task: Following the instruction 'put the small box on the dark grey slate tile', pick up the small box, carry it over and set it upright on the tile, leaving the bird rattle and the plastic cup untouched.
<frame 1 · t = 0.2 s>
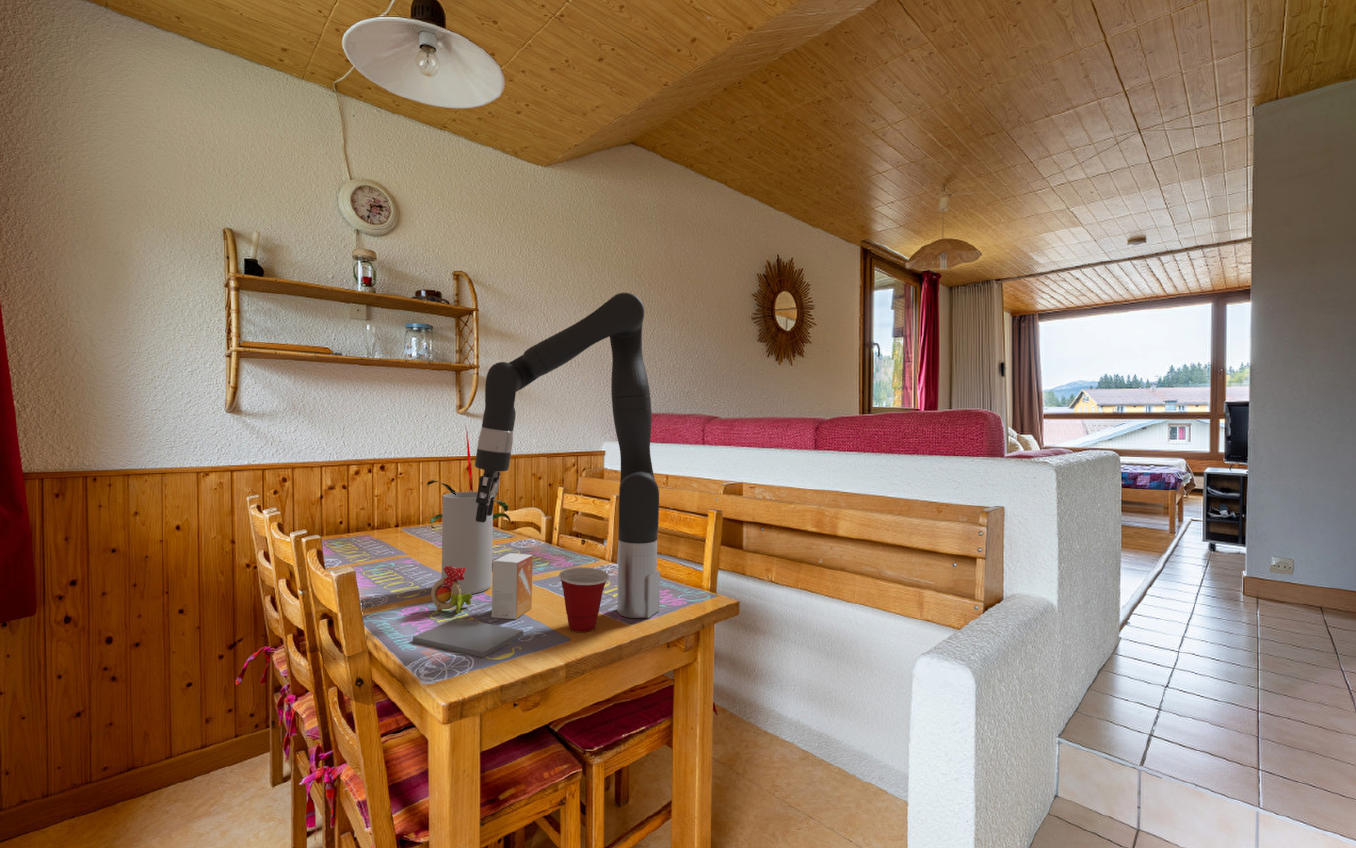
hand: (483, 518, 128), 22 cm above the table, tool pointing down, fingers open, 8 cm apart
bird rattle: (449, 611, 131), on the table
cylinder vase: (466, 589, 148), on the table
slate tile: (469, 638, 114), on the table
plastic cup: (583, 628, 121), on the table
small box: (512, 614, 130), on the table
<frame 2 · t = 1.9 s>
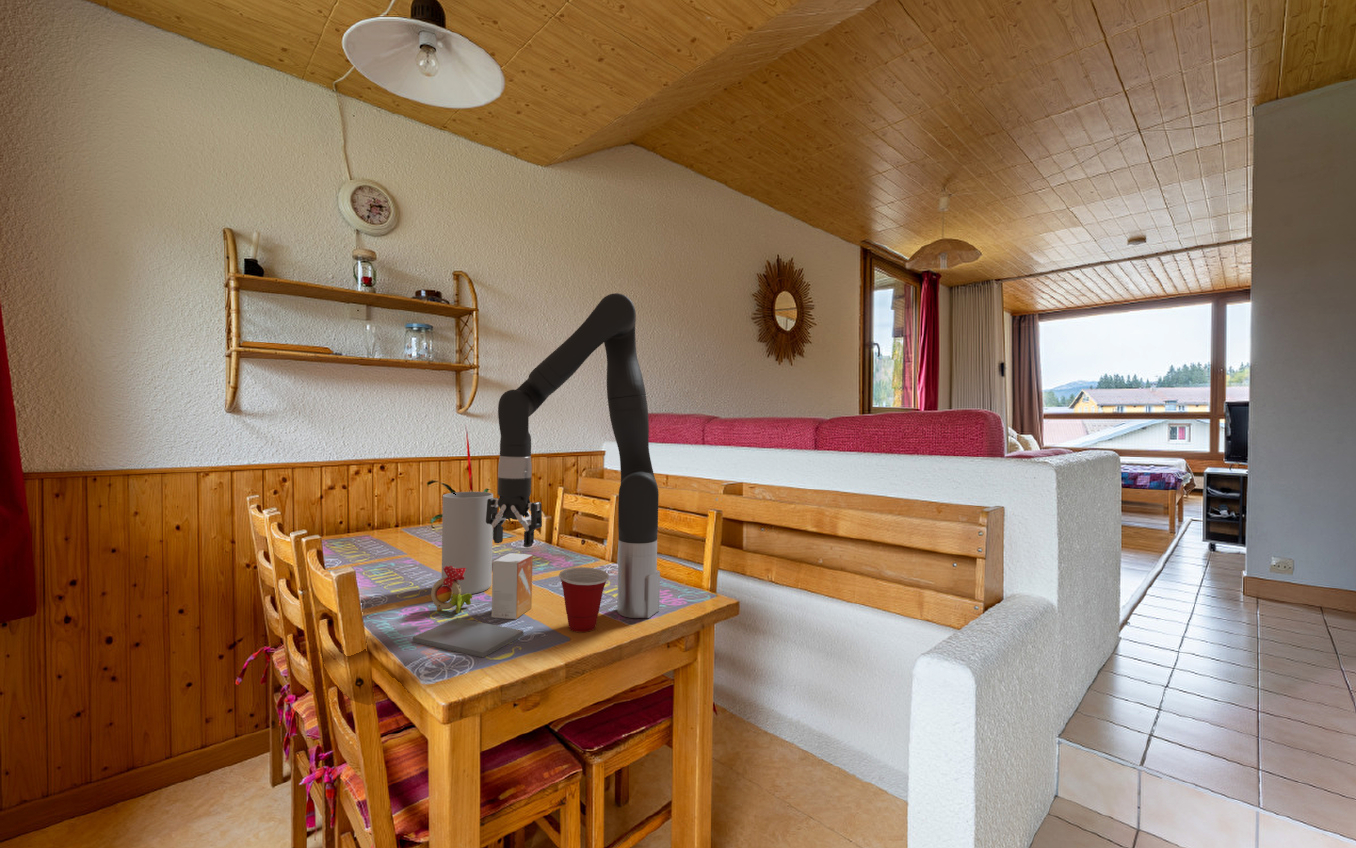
hand: (512, 544, 130), 16 cm above the table, tool pointing down, fingers open, 8 cm apart
nothing on the table moved.
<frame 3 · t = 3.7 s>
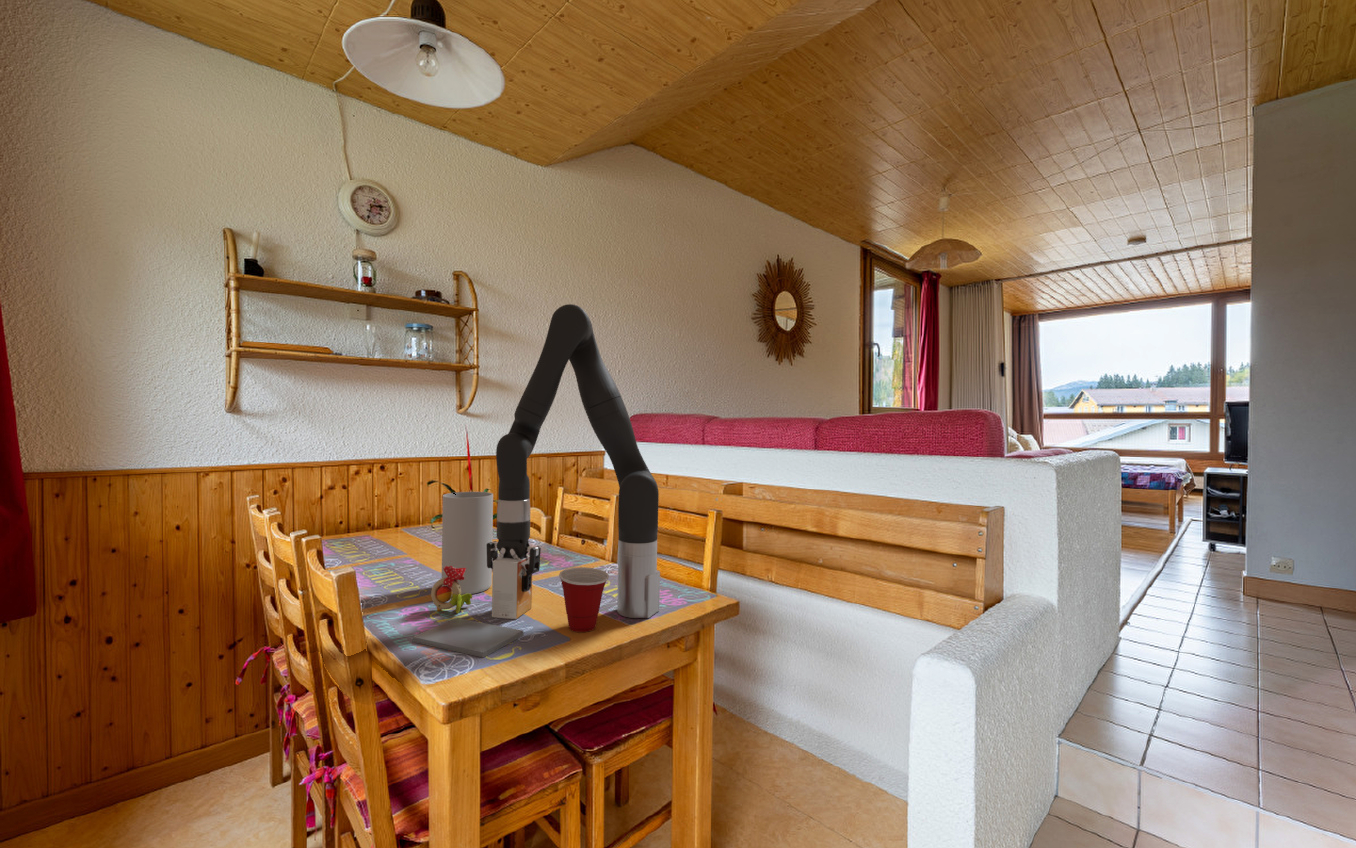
hand: (512, 588, 130), 6 cm above the table, tool pointing down, fingers closed on small box, 7 cm apart
small box: (512, 613, 130), on the table, touching gripper
everything else where it was.
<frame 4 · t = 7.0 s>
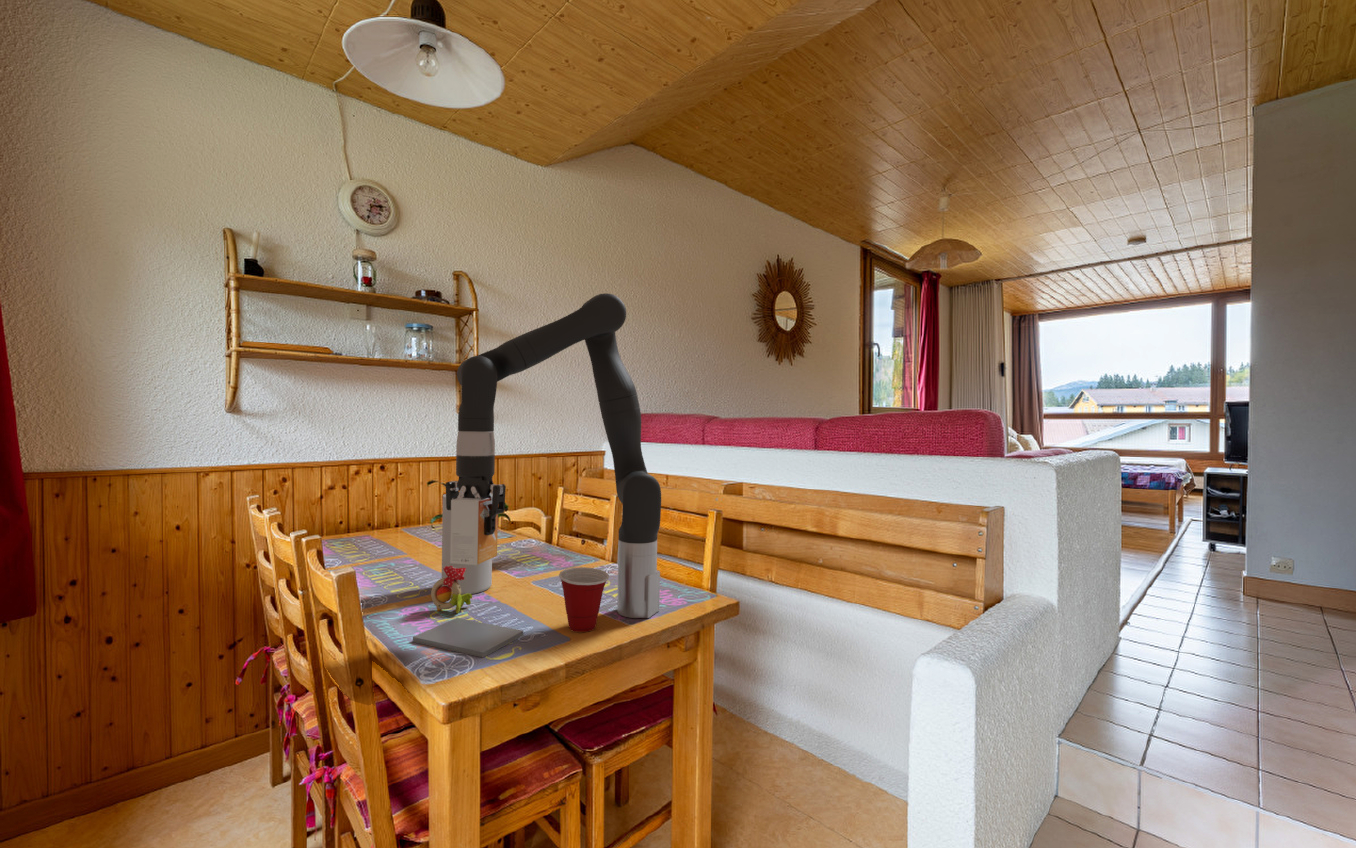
hand: (474, 532, 115), 22 cm above the table, tool pointing down, fingers closed on small box, 7 cm apart
small box: (474, 561, 115), point 16 cm above the table, touching gripper
everything else where it was.
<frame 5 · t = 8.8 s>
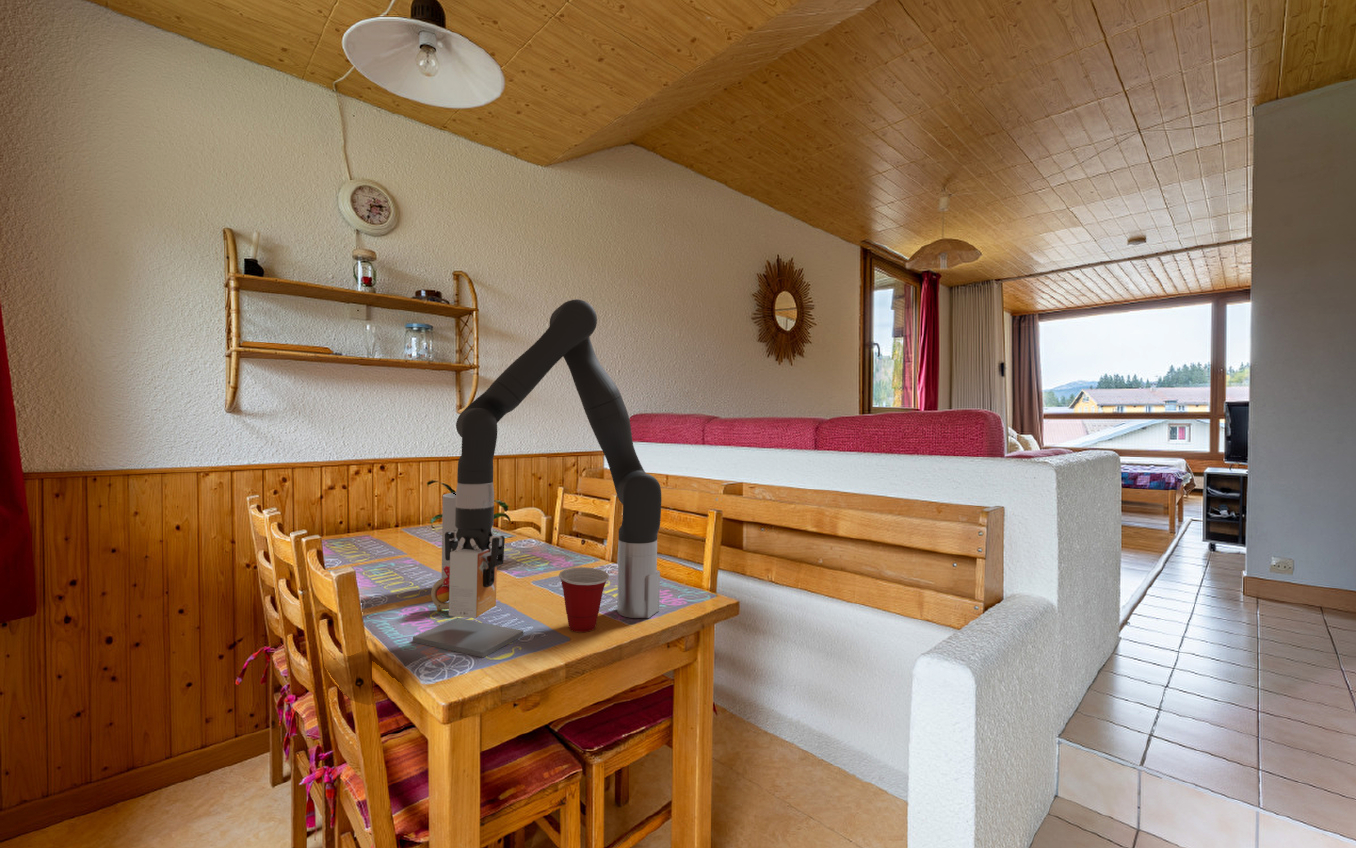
hand: (473, 583, 115), 11 cm above the table, tool pointing down, fingers closed on small box, 7 cm apart
small box: (473, 612, 115), point 5 cm above the table, touching gripper
everything else where it was.
when the fingers open (8 cm above the table, at t = 10.5 s): small box drops 1 cm, resting on slate tile.
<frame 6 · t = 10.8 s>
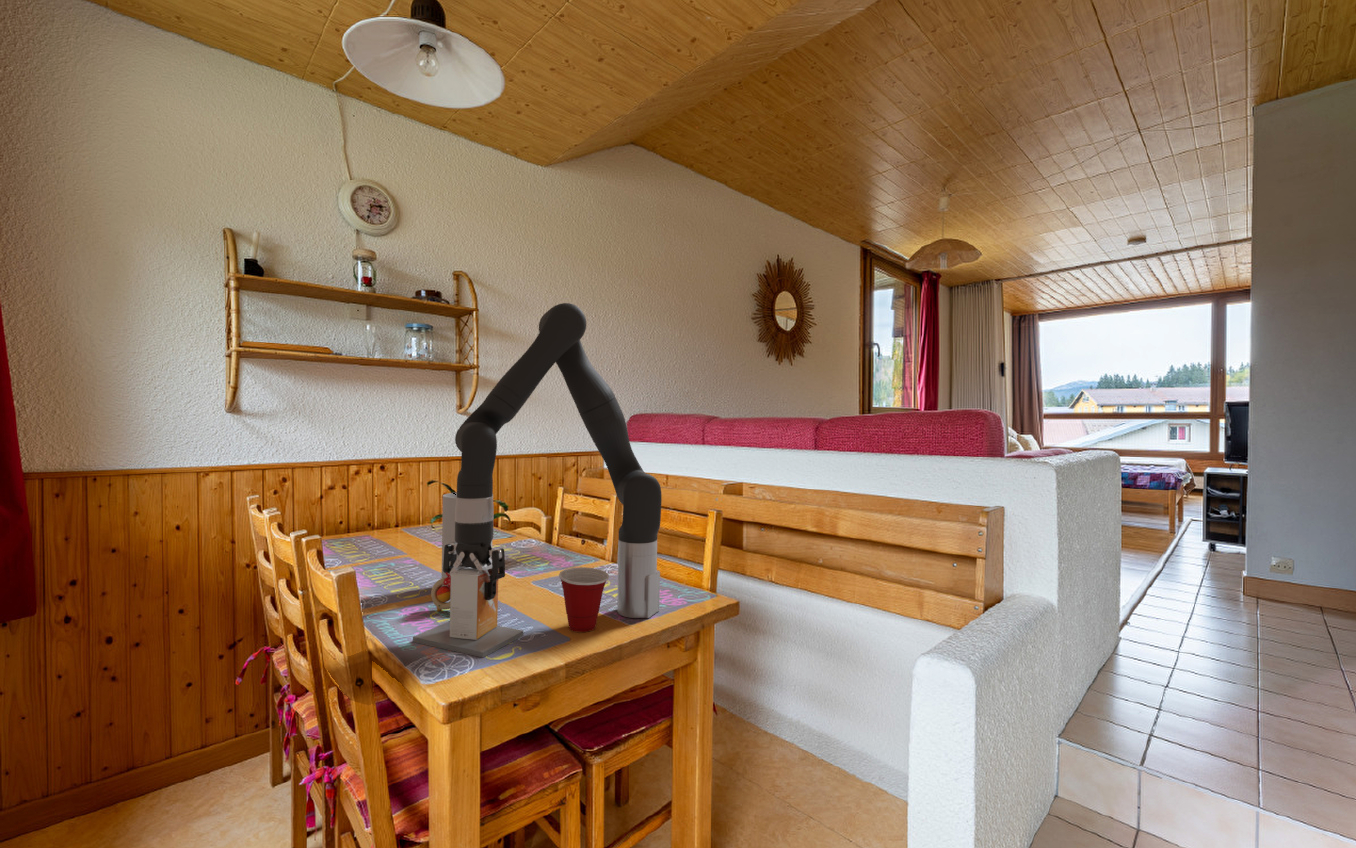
hand: (473, 596, 115), 8 cm above the table, tool pointing down, fingers open, 8 cm apart
small box: (474, 633, 115), point 1 cm above the table, touching slate tile
everything else where it was.
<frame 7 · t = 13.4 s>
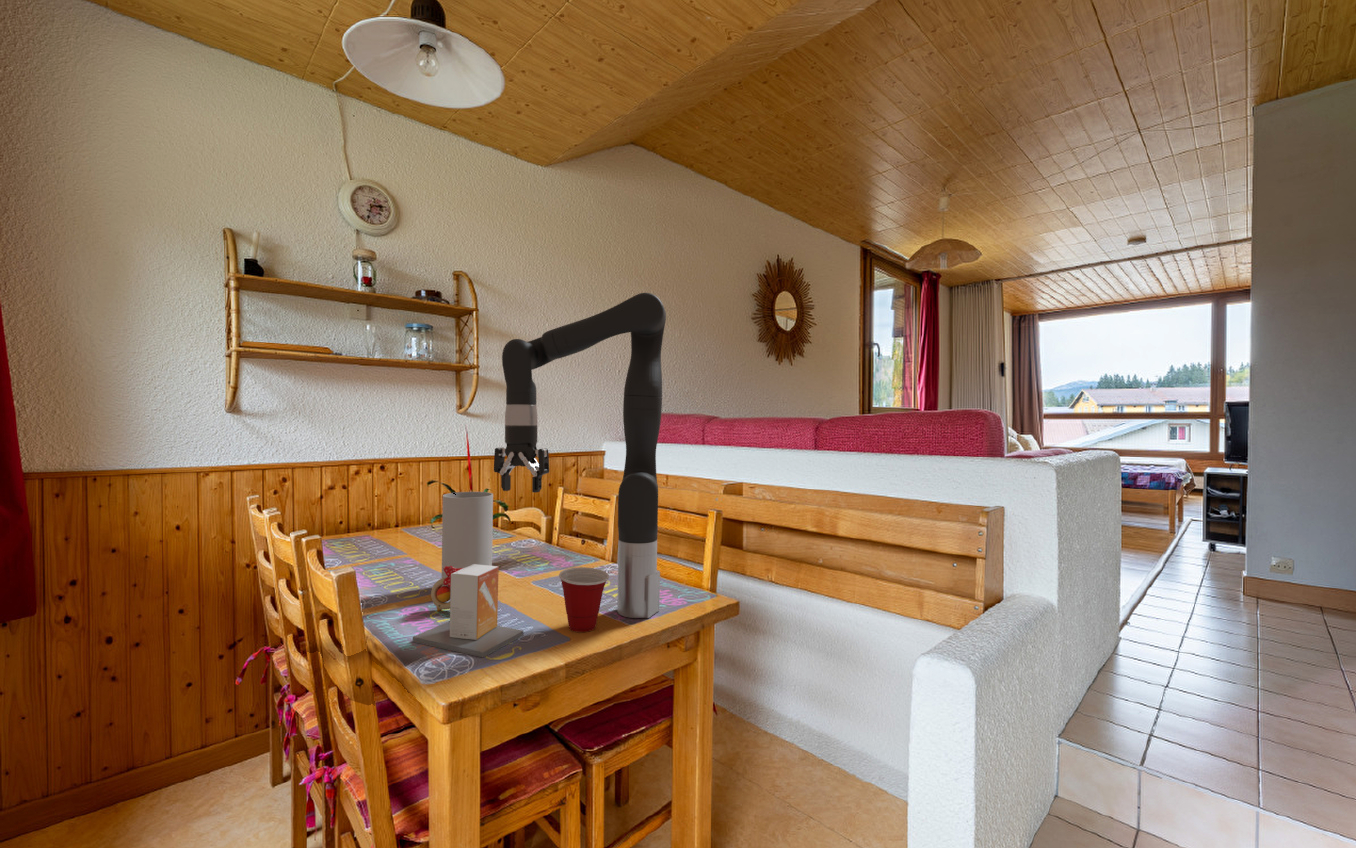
hand: (521, 491, 133), 28 cm above the table, tool pointing down, fingers open, 8 cm apart
nothing on the table moved.
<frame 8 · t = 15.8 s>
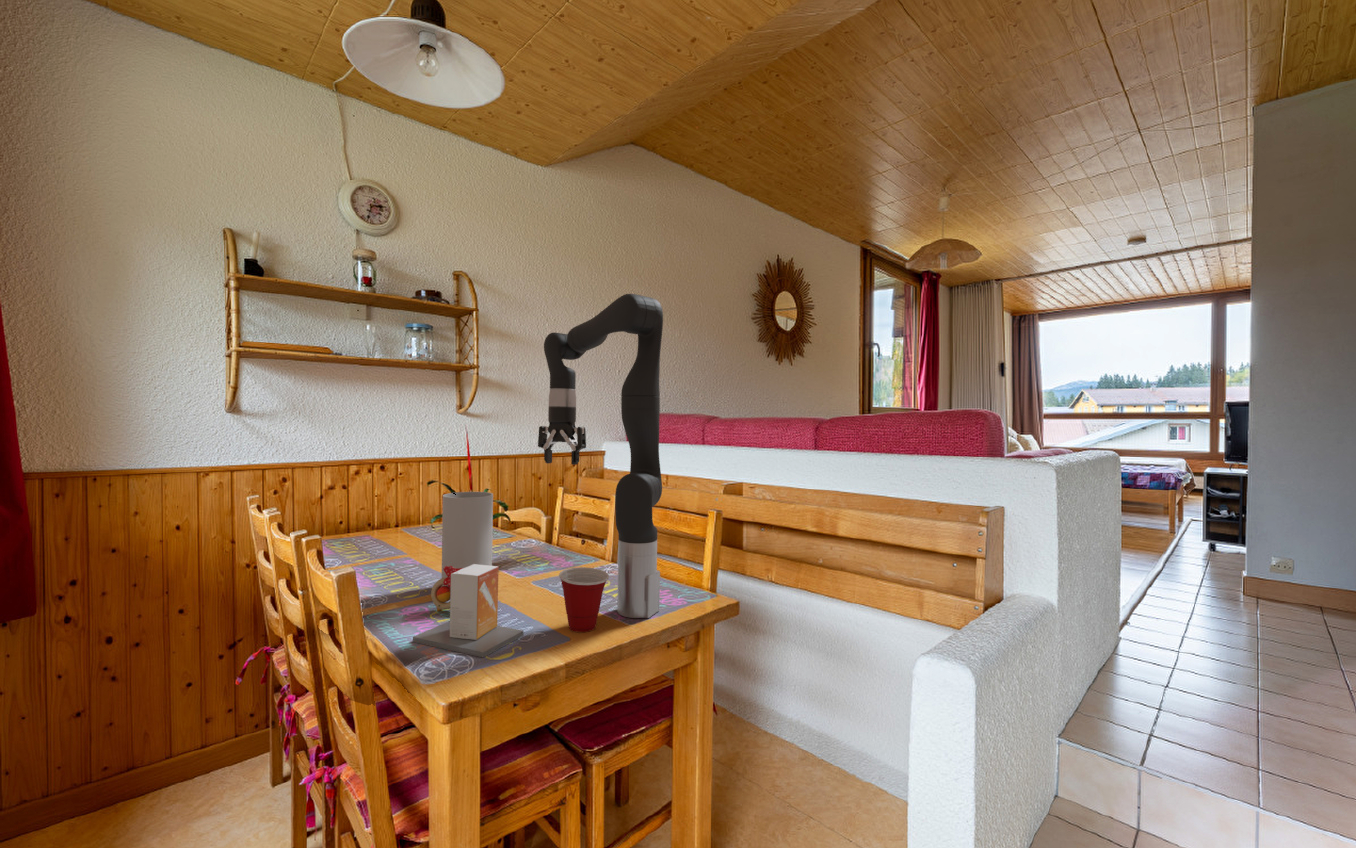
hand: (561, 463, 154), 33 cm above the table, tool pointing down, fingers open, 8 cm apart
nothing on the table moved.
at the end: small box inside the target area on the slate tile (1.1 cm from its centre), point 0.8 cm above the slate tile's base; small box tilted 0°; bird rattle moved 0.3 cm from its start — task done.
